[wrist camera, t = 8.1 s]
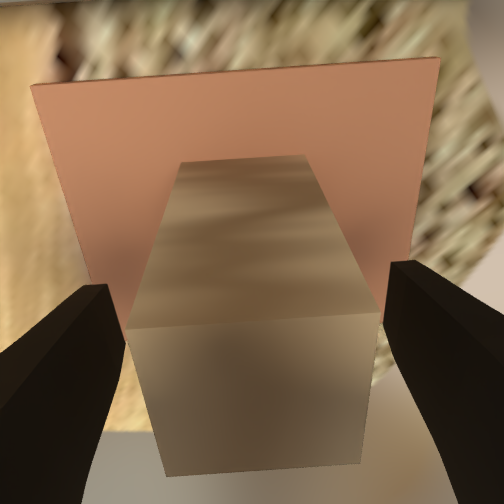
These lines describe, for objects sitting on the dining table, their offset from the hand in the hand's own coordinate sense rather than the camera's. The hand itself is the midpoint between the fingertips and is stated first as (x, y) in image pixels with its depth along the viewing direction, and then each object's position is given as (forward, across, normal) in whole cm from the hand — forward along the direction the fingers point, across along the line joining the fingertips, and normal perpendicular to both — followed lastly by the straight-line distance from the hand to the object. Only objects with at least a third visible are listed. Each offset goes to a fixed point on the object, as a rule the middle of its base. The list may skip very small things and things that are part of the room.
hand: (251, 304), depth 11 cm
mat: (+5, 0, 0) cm, 5 cm away
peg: (+4, 0, 0) cm, 5 cm away
